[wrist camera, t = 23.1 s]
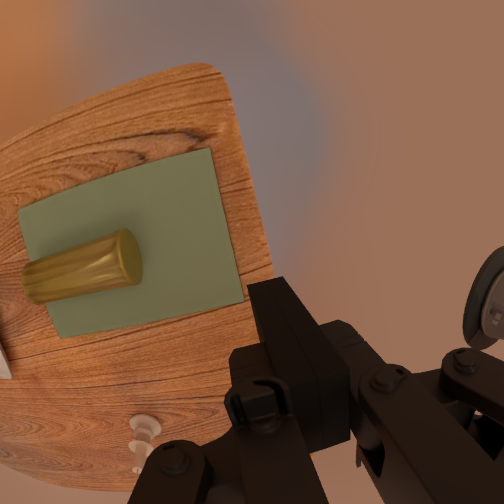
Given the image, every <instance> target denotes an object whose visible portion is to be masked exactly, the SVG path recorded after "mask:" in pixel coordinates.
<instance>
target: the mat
mask: <svg viewBox="0 0 504 504" xmlns="http://www.w3.org/2000/svg"><path fill="white" fill-rule="evenodd" d="M17 214H18V218H19V222H20V226H21V230H22V234H23V238H24V242H25V245H26V249H27V252H28V256H29V259H30V262H32V261H34V260H37V259H40V258H43V257H46V256H49V255H52V254H55V253H58V252H61V251H63V250H66V249H69V248H71V247H74V246H77V245H79V244H82V243H85V242H88V241H91V240H94V239H97V238H100V237H103V236H105V235H108V234H110V233H113V232H115V231H117V230H118V229H120V228H127V229H128V230H129V231H130V232H131V233H132V234H133V236H134V238H135V240H136V242H137V244H138V247H139V250H140V254H141V259H142V265H143V275H142V280H141V282H140V284H138V285H136V286H125V287H121V288H116V289H111V290H106V291H100V292H95V293H91V294H86V295H81V296H76V297H72V298H67V299H62V300H58V301H53V302H49V303H45V304H46V307H47V309H48V312H49V314H50V317H51V319H52V321H53V324H54V326H55V328H56V330H57V333H58V335H59V337H60V338H66V337H72V336H78V335H84V334H90V333H96V332H101V331H107V330H112V329H118V328H123V327H128V326H133V325H138V324H143V323H148V322H153V321H158V320H163V319H168V318H172V317H177V316H182V315H186V314H191V313H196V312H200V311H204V310H209V309H213V308H218V307H222V306H226V305H230V304H235V303H239V302H243V301H245V300H244V296H243V292H242V288H241V283H240V279H239V275H238V271H237V266H236V262H235V258H234V254H233V249H232V245H231V241H230V236H229V232H228V227H227V223H226V219H225V214H224V210H223V205H222V201H221V196H220V192H219V187H218V183H217V178H216V174H215V169H214V164H213V160H212V155H211V150H210V148H205V149H201V150H197V151H192V152H188V153H184V154H180V155H176V156H172V157H169V158H165V159H161V160H157V161H154V162H150V163H147V164H143V165H140V166H136V167H133V168H130V169H127V170H123V171H120V172H117V173H114V174H111V175H108V176H105V177H102V178H99V179H96V180H93V181H90V182H87V183H84V184H82V185H79V186H76V187H73V188H71V189H68V190H65V191H63V192H60V193H58V194H55V195H52V196H50V197H47V198H45V199H43V200H40V201H38V202H35V203H33V204H31V205H28V206H26V207H24V208H21V209H19V210H17Z"/></svg>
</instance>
